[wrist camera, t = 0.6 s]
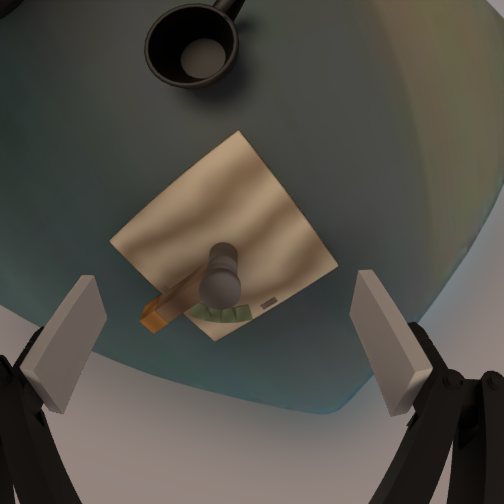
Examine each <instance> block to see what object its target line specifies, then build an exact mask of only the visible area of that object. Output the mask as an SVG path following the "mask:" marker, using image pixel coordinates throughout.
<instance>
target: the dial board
mask: <svg viewBox="0 0 504 504" xmlns="http://www.w3.org/2000/svg"><path fill="white" fill-rule="evenodd" d="M110 242H111V243H112V245H113V246H114V247H115V248H116V249H117V250H118V251H119V252H120V253H121V254H122V255H123V256H124V257H125V258H126V259H127V260H128V261H129V262H130V263H131V264H132V265H133V266H134V267H135V268H136V269H137V270H138V271H139V272H140V273H141V274H142V275H143V276H144V277H145V278H146V279H147V280H148V281H149V282H150V283H151V284H152V285H153V286H154V287H155V288H156V289H158V290H159V291H160V292H161V293H162V294H164V293H165V292H166V291H168V290H169V289H171V288H172V287H173V286H175V285H176V284H177V283H179V282H180V281H182V280H183V279H184V278H186V277H187V276H189V275H190V274H191V273H193V272H194V271H195V270H197V269H198V268H200V267H201V266H202V265H204V264H205V263H207V262H208V258H209V253H210V250H211V248H212V247H213V246H214V245H215V244H217V243H220V242H226V243H229V244H231V245H233V246H234V247H235V248H236V250H237V254H238V260H237V276H238V278H239V280H240V283H241V296H240V299H239V301H238V302H237V304H236V305H234V306H233V307H231V308H229V309H224V310H217V309H213V308H210V307H208V306H207V305H205V304H204V303H203V302H202V301H201V302H199V303H198V304H196V305H195V306H193V307H192V308H190V309H188V310H187V311H185V312H184V313H183V314H184V315H186V316H187V317H188V318H189V319H190V320H191V321H192V322H193V323H194V324H196V325H197V326H198V327H199V328H200V329H201V330H202V331H204V332H205V333H206V334H207V335H208V336H209V337H210V338H212V339H213V340H214V341H216V340H218V339H220V338H222V337H224V336H225V335H227V334H229V333H230V332H232V331H234V330H236V329H237V328H239V327H241V326H243V325H244V324H246V323H248V322H249V321H251V320H253V319H254V318H256V317H258V316H259V315H261V314H263V313H264V312H266V311H268V310H269V309H271V308H273V307H274V306H276V305H278V304H279V303H281V302H283V301H284V300H286V299H287V298H289V297H291V296H292V295H294V294H295V293H297V292H299V291H300V290H302V289H303V288H305V287H307V286H308V285H310V284H311V283H313V282H315V281H316V280H318V279H319V278H321V277H322V276H324V275H325V274H327V273H329V272H330V271H332V270H333V269H335V268H336V267H338V264H337V262H336V261H335V259H334V258H333V256H332V255H331V253H330V252H329V250H328V249H327V248H326V246H325V245H324V243H323V242H322V240H321V239H320V238H319V236H318V235H317V233H316V232H315V230H314V229H313V228H312V226H311V225H310V223H309V222H308V221H307V219H306V218H305V216H304V215H303V214H302V212H301V211H300V210H299V208H298V207H297V205H296V204H295V203H294V201H293V200H292V199H291V197H290V196H289V195H288V193H287V192H286V190H285V189H284V188H283V186H282V185H281V184H280V182H279V181H278V180H277V178H276V177H275V176H274V175H273V173H272V172H271V171H270V169H269V168H268V167H267V165H266V164H265V163H264V161H263V160H262V159H261V158H260V156H259V155H258V154H257V152H256V151H255V150H254V149H253V147H252V146H251V145H250V144H249V142H248V141H247V140H246V139H245V137H244V136H243V135H242V134H241V132H240V131H239V130H238V131H237V132H235V133H234V134H233V135H231V136H230V137H229V138H227V139H226V140H225V141H223V142H222V143H221V144H220V145H218V146H217V147H216V148H214V149H213V150H212V151H211V152H209V153H208V154H207V155H206V156H204V157H203V158H202V159H201V160H199V161H198V162H197V163H196V164H194V165H193V166H192V167H191V168H190V169H188V170H187V171H186V172H185V173H183V174H182V175H181V176H180V177H179V178H178V179H176V180H175V181H174V182H173V183H172V184H171V185H169V186H168V187H167V188H166V189H165V190H164V191H162V192H161V193H160V194H159V195H158V196H157V197H156V198H154V199H153V200H152V201H151V202H150V203H149V204H148V205H147V206H146V207H144V208H143V209H142V210H141V211H140V212H139V213H138V214H137V215H136V216H135V217H134V218H133V219H131V220H130V221H129V222H128V223H127V224H126V225H125V226H124V227H123V228H122V229H121V230H120V231H119V232H118V233H117V234H116V235H115V236H114V237H113V238H112V239H111V240H110Z"/></svg>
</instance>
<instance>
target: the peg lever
mask: <svg viewBox="0 0 504 504" xmlns="http://www.w3.org/2000/svg"><path fill="white" fill-rule="evenodd" d="M237 260H238V254H237V250H236V248H235V247H234V246H233V245H231V244H229V243H226V242H220V243H217V244H215V245H214V246H213V247H212V248H211V250H210V253H209V258H208V262H207V263H205V264H204V265H202V266H201V267H200V268H198V269H197V270H195V271H194V272H193V273H191V274H190V275H189V276H187V277H186V278H184V279H183V280H182V281H180V282H179V283H177V284H176V285H175V286H173V287H172V288H171V289H169V290H168V291H166V292H165V293H164V294H162V295H161V296H160V295H159V296H158V297H157V298H155V299H154V300H152V301H151V302H150V303H148V304H147V305H146V306H145V308H144V311H143V313H142V316H141V318H140V322H141V323H142V324H143V325H144V326H145V327H147V328H148V329H149V330H150V331H151V332H152V333H155V332H157V331H158V330H160V329H161V328H163V327H164V326H166V325H167V324H169V322H170V321H172V320H173V319H175V318H176V317H178V316H179V315H181V314H182V313H184V312H185V311H187V310H188V309H190V308H192V307H193V306H195V305H196V304H198V303H199V302H201V301H202V302H203V303H204V304H205V305H207V306H208V307H210V308H213V309H217V310H224V309H229V308H231V307H233V306H234V305H236V304H237V302H238V301H239V299H240V296H241V283H240V280H239V278H238V276H237Z"/></svg>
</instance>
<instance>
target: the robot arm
mask: <svg viewBox="0 0 504 504" xmlns="http://www.w3.org/2000/svg"><path fill="white" fill-rule="evenodd" d="M22 1H23V0H0V18H2V17H4V16H5V15H7V14H8V13H10V12H11V11H12V10H13V9H15V8H16V7H17V6H18V5H19V4H20V3H21V2H22ZM349 315H350V317H351V320H352V322H353V324H354V327H355V329H356V331H357V334H358V336H359V338H360V341H361V343H362V345H363V348H364V350H365V353H366V355H367V357H368V360H369V362H370V365H371V367H372V370H373V372H374V375H375V377H376V380H377V382H378V385H379V387H380V390H381V392H382V395H383V398H384V400H385V403H386V405H387V408H388V411H389V413H390V416H391V417H392V416H396V415H401V414H405V413H407V412H408V411H409V409H410V407H411V406H412V404H413V406H414V409H415V411H416V412H415V413H414V415H413V416H412V418H411V419H410V421H409V422H408V424H407V426H408V429H407V431H406V433H405V436H404V438H403V440H402V442H401V444H400V446H399V448H398V451H397V453H396V455H395V457H394V459H393V461H392V462H391V464H390V467H389V468H388V470H387V472H386V474H385V476H384V478H383V479H382V481H381V483H380V485H379V487H378V488H377V490H376V492H375V494H374V495H373V497H372V499H371V500H370V502H369V504H429V503H430V500H431V498H432V496H433V493H434V491H435V489H436V486H437V484H438V481H439V478H440V476H441V473H442V471H443V468H444V465H445V462H446V459H447V457H448V454H449V451H450V447H451V444H452V441H453V451H452V464H451V475H450V483H449V490H448V498H447V504H504V377H503V376H502V375H501V374H499V373H498V372H495V371H487V372H485V373H484V374H483V376H482V378H481V379H480V380H475V379H465V378H464V377H463V376H462V375H461V374H460V373H459V372H457V371H455V370H452V369H448V367H447V366H446V364H445V362H444V361H443V359H442V357H441V356H440V354H439V352H438V351H437V349H436V348H435V346H434V345H433V343H432V341H431V340H430V339H429V337H428V335H427V333H426V332H425V330H424V329H423V328H422V327H421V326H420V325H418V324H417V323H416V322H411V323H406V321H405V319H404V318H403V316H402V315H401V313H400V311H399V310H398V308H397V307H396V305H395V304H394V302H393V300H392V299H391V297H390V296H389V294H388V293H387V291H386V290H385V288H384V287H383V285H382V284H381V282H380V281H379V279H378V278H377V276H376V275H375V273H374V272H373V270H358V274H357V280H356V285H355V290H354V295H353V300H352V305H351V310H350V314H349ZM106 320H107V315H106V312H105V309H104V306H103V303H102V300H101V297H100V293H99V290H98V287H97V283H96V280H95V277H94V275H82V276H81V277H80V279H79V280H78V281H77V283H76V284H75V285H74V287H73V288H72V289H71V291H70V292H69V293H68V295H67V296H66V298H65V299H64V300H63V302H62V303H61V304H60V306H59V307H58V309H57V310H56V312H55V313H54V314H53V316H52V317H51V319H50V320H49V322H48V323H47V325H46V326H45V327H41V328H40V329H39V330H37V331H36V332H35V333H34V334H33V336H32V337H31V339H30V340H29V342H28V343H27V345H26V346H25V349H24V350H23V351H22V353H21V354H20V356H19V357H18V359H17V361H16V362H15V364H14V365H13V367H12V366H11V365H10V363H9V362H8V360H7V358H6V357H5V356H3V355H0V504H15V497H14V489H13V485H14V488H15V491H16V494H17V497H18V500H19V502H20V504H82V503H81V501H80V499H79V497H78V495H77V493H76V491H75V489H74V487H73V485H72V483H71V481H70V478H69V476H68V474H67V472H66V470H65V468H64V465H63V463H62V461H61V458H60V456H59V453H58V451H57V448H56V445H55V443H54V440H53V438H52V435H51V432H50V429H49V426H48V424H47V420H46V417H45V414H44V412H43V411H42V409H41V407H42V405H43V403H44V404H45V405H46V407H47V408H48V409H49V411H52V412H56V413H60V414H64V411H65V409H66V407H67V404H68V402H69V400H70V397H71V395H72V392H73V390H74V388H75V385H76V383H77V381H78V378H79V376H80V374H81V372H82V370H83V368H84V365H85V363H86V361H87V359H88V357H89V355H90V353H91V350H92V348H93V346H94V344H95V342H96V340H97V338H98V336H99V334H100V332H101V330H102V328H103V326H104V324H105V322H106Z"/></svg>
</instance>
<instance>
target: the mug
mask: <svg viewBox="0 0 504 504" xmlns="http://www.w3.org/2000/svg"><path fill="white" fill-rule="evenodd" d="M244 2H245V0H216V2H215V3H214V4H213V6H211V5H206V4H200V3H199V4H186V5H181V6H178V7H176V8H173V9H171V10H169V11H167V12H166V13H165V14H163V15H162V16H160V17H159V18H158V19H157V21H156V22H155V23H154V24H153V25H152V27H151V28H150V30H149V32H148V34H147V37H146V40H145V47H144V54H145V60H146V62H147V65H148V67H149V69H150V70H151V71H152V73H153V74H154V75H155V76H156V77H157V78H158V79H160V80H161V81H162V82H165V83H167V84H169V85H171V86H176V87H180V88H185V89H199V88H204V87H208V86H210V85H213V84H215V83H217V82H218V81H220V80H221V79H223V78H224V77H225V76H226V75H227V74H228V73H229V72H230V71H231V69H232V68H233V66H234V64H235V62H236V59H237V57H238V51H239V38H238V32H237V29H236V27H235V25H234V23H233V22H234V20H235V18H236V17H237V15H238V13H239V11H240V9H241V7H242V6H243V4H244Z"/></svg>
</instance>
